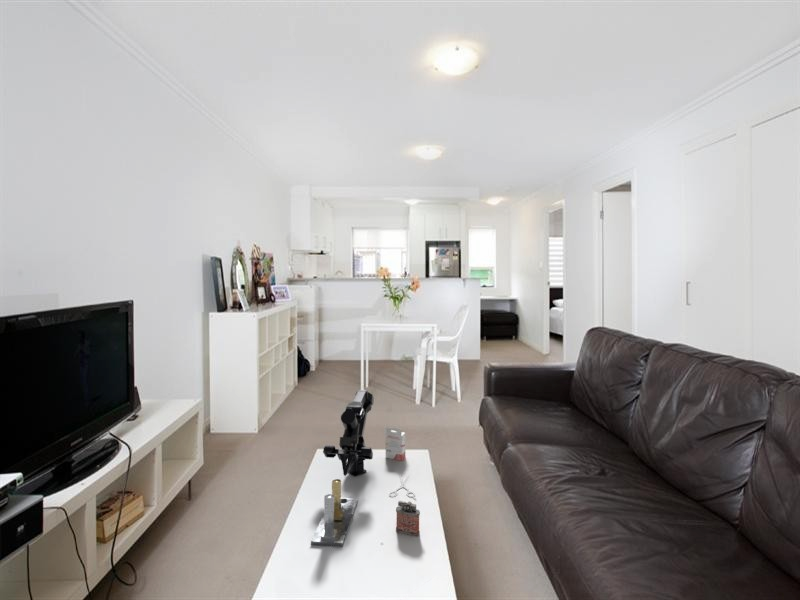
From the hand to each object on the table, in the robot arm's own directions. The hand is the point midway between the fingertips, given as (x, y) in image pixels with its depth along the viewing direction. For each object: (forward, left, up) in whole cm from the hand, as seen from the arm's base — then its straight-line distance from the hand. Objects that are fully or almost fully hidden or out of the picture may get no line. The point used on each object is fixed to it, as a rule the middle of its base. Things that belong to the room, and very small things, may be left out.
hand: (344, 475), depth 145 cm
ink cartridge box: (-16, +38, -10) cm, 42 cm away
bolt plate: (+9, -9, -10) cm, 16 cm away
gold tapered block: (+9, -9, -8) cm, 15 cm away
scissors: (+6, +24, -10) cm, 27 cm away
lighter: (+29, +6, -10) cm, 31 cm away
